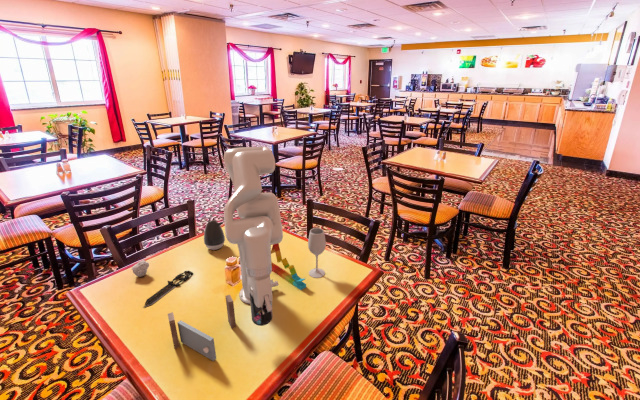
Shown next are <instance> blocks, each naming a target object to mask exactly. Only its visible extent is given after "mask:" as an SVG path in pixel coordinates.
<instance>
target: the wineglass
mask: <svg viewBox="0 0 640 400" xmlns="http://www.w3.org/2000/svg"><path fill="white" fill-rule="evenodd" d="M324 230H325V229H323V228H319V227H314V228H311V229H310V230H309V233H308V234H309V235H308V241H307V245H308V250H309V251H310V253H311V254H313V255H314V256H315V268H312V269H310V270H309V271H308V275H309V276H310V277H311V278H313V279H314V278H315V279H319V278H323V277H324V276H325V274H326V272H325V270H324V269H322V268H318V267H319V266H318V265H319V264H318V261H319V260H318V259H319V256H320V255H321V254H323V252H324V251H325V250H326V247H327V246H326V245H327V242H326V241H327V240H326V235H325V231H324Z"/></svg>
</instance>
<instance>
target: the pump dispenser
mask: <svg viewBox="0 0 640 400" xmlns="http://www.w3.org/2000/svg"><path fill="white" fill-rule="evenodd" d="M223 224H224V222H223V221H221V222H218V220H215V219H211V220H209V221H208V222H207V223H206V225H205V228H204V233H203V243H204V245H205V247H207V249H209V250H211V251H212V250H213V251H215V250H219V249H220V248H222V247H223V246H224V244H225V241H226V238H225V237H226V235H225V234H224V233H225V232H224V230H223V228H222V225H223Z"/></svg>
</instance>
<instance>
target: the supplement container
mask: <svg viewBox="0 0 640 400" xmlns="http://www.w3.org/2000/svg"><path fill="white" fill-rule="evenodd" d="M263 303H265V302H263ZM270 304H271V307H272V308H273V302H272V303H270ZM249 305H250V314H251V316H250V317H251V321H252V323H253V324H254V325H255V326H261V327H262V326H266V325H269V324H270V323H271V322H272V321H273V317H274V316H273V310H272V311H271V321H268V322H265V323H263V324H262V323H261V314H260V313H261V307H260V308H258V307H256V305H255V303H254V299H253V297H252V295H251V294H250V304H249ZM263 309H264V310H265V309H266V305H265V306H263Z"/></svg>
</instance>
